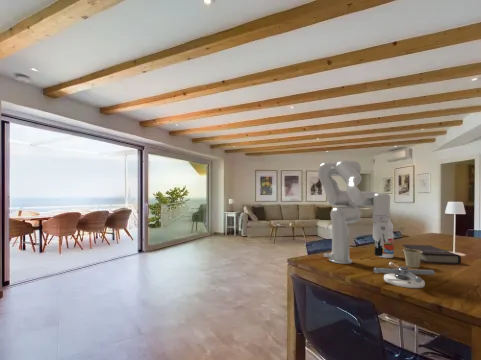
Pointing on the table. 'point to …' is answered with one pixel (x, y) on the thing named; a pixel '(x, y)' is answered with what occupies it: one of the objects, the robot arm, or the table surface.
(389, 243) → the fruit juice
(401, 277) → the capstan
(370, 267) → the table surface
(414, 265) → the flower pot
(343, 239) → the robot arm
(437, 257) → the book
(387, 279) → the stand
